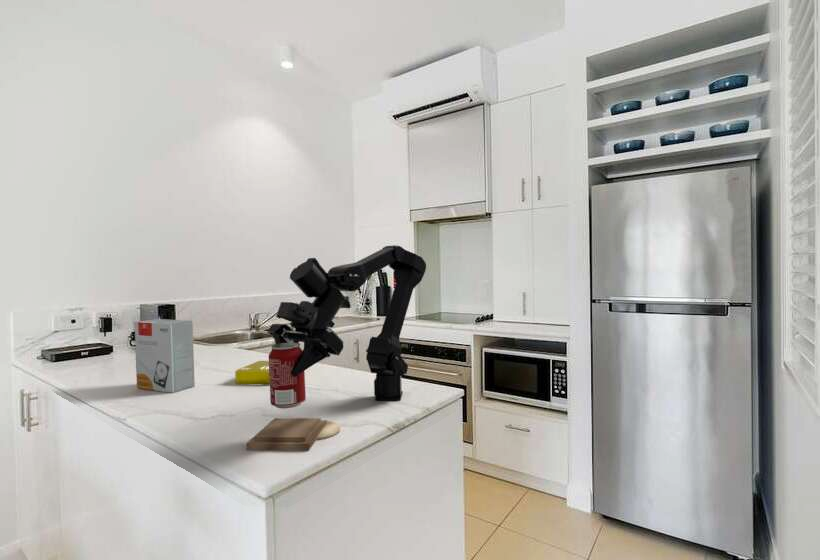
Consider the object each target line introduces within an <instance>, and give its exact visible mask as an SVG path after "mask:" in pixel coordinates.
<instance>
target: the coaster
mask: <svg viewBox="0 0 820 560" xmlns="http://www.w3.org/2000/svg"><path fill="white" fill-rule="evenodd" d="M339 432H341V425H340V424H339V423H338V422H335V421H332V420H331V421H330V420H327V424H326V425H325V427H324V428H323V429H322V431H321V432H320V433H319V435H318V436H317V437H316V438H317V440H316V441H319V440H326V439H329V438H332V437H334V436H336V435H337V434H338V433H339Z"/></svg>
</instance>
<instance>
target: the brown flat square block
mask: <svg viewBox="0 0 820 560" xmlns="http://www.w3.org/2000/svg"><path fill="white" fill-rule="evenodd" d="M327 421H328V419H327V420H326V419H323V420H322V418H321V417H320V418H319V417H317V418H316V417H309V418H308V417H300V418H299V417H296V418H295V417H294V418H293V417H292V418H291V417H289V418H288V417H285V418H284V417H283V418H282V417H274V418H273V419H272V420H271V421H270V422H269V423H267V424H266V425H265V426H264V427H263V428H262V429H261V430H260V431H258V432H257V433H256V434H255V435H254V436H253V437H251V439H249V440H248V441H247V442H246V447H245V449H246V450H249V451H252V450H253V451H256V450H257V451H310V450H311V449H312V447H313V446H314V444H315V443H316V441H318V440H317V438H316V437H317V436H318V435H319V433H320V432H321V431H322V429H323V428H324V427H325V425H326V424H327Z"/></svg>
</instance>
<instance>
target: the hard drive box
mask: <svg viewBox="0 0 820 560" xmlns="http://www.w3.org/2000/svg"><path fill="white" fill-rule="evenodd" d="M133 324H134V344H135V346H134V348H135V371H136V372H135V373H136V389H140V390H141V389H142V390H146V391H147V390H148V391H154V392H155V391H157V392H160V393H161V392H162V393H170V394H174V393H177V392H180V391H184V390H187V389H190V388H193V387H195V386H196V385H195V382H196V381H195V363H194V362H195V359H194V358H195V357H194V355H195V354H194V332H193V331H194V329H193V327H194V326H193V320H185V319H184V320H183V319H165V318H163V319H162V318H154V319H149V320H148V319H147V320H139V321H134V322H133Z"/></svg>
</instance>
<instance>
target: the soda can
mask: <svg viewBox="0 0 820 560" xmlns="http://www.w3.org/2000/svg"><path fill="white" fill-rule="evenodd" d="M270 348H271V351H270V352H269V354H268V361H269V378H270V385H269V396H270V397H269V398H270V400H269V401H270V405H271V406H273V407H276V408H277V409H281V410H282V409H284V410H285V409H292V408H296V407H299V406H300V405H301V404H302V403H304V402H306V400H307V399H306V398H307V397H306V378H305V375H306V374H305V371H303V372H302V373H300V374H298V375H297V376H295V377H293V376H292V375H291V371H292V369H293V367H294V365H295V363H296V362H297V360H298V358H299V356H300V354H301V353H302V351H303V350H302V349H303V348H301V343H300V342H299V343H281V344H276V345H275V344H272V345H271V347H270Z"/></svg>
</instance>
